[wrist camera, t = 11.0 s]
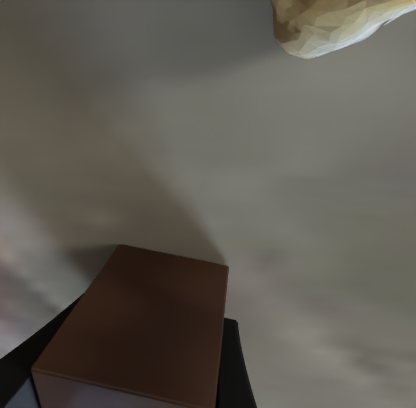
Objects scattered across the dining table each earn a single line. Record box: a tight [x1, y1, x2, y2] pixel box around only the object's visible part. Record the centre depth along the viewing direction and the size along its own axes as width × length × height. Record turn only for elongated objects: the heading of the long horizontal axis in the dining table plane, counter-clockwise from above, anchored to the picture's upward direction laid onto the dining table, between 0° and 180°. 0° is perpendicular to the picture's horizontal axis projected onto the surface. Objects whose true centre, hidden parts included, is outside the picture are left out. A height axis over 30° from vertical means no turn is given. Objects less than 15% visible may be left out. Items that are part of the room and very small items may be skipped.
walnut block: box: [31, 245, 229, 408], centre depth 9 cm, size 4×4×5 cm
